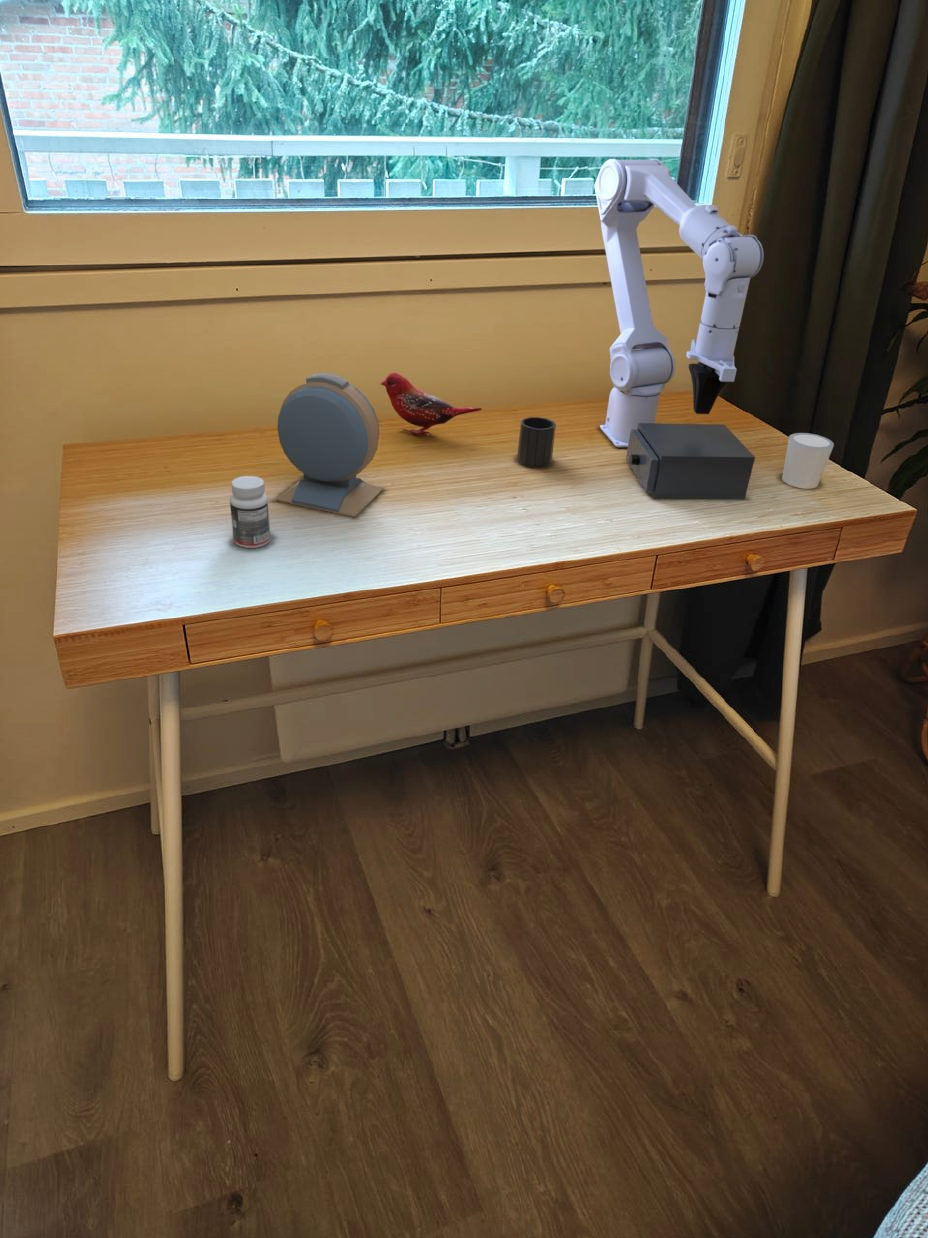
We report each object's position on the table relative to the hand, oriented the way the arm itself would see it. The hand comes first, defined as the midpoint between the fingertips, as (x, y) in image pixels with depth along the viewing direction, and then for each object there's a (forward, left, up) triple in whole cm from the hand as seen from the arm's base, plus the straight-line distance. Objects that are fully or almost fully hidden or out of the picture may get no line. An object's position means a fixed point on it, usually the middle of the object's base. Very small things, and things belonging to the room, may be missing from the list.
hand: (701, 412), depth 139 cm
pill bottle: (+18, -69, -10) cm, 72 cm away
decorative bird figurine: (-17, -40, -10) cm, 45 cm away
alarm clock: (+5, -58, -10) cm, 59 cm away
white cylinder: (+5, +17, -10) cm, 20 cm away
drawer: (+3, -4, -9) cm, 11 cm away
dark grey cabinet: (+4, -2, -10) cm, 11 cm away
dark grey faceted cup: (-5, -25, -10) cm, 27 cm away
